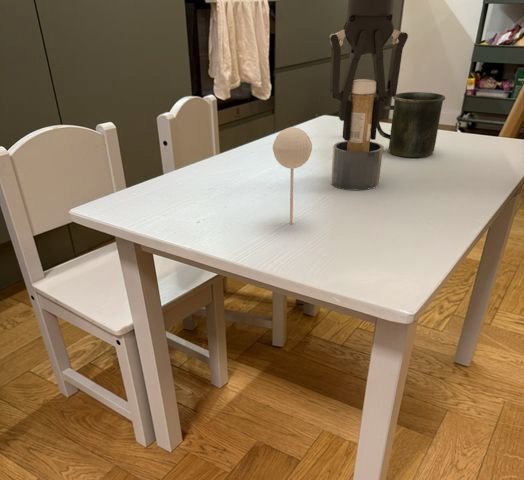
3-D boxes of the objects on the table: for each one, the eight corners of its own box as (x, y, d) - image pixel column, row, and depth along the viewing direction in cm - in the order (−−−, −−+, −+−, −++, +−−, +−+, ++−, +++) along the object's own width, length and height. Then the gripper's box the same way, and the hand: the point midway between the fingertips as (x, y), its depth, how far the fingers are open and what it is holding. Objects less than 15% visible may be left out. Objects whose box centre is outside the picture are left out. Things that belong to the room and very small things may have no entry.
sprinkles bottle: (373, 158, 97) (382, 80, 89) (355, 162, 95) (362, 83, 87) (358, 153, 100) (365, 77, 92) (340, 157, 98) (345, 80, 90)
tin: (372, 174, 104) (376, 139, 100) (384, 189, 97) (388, 151, 93) (327, 176, 104) (329, 141, 100) (335, 191, 96) (338, 153, 92)
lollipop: (287, 233, 80) (288, 134, 71) (265, 222, 84) (264, 127, 75) (316, 224, 83) (321, 128, 74) (294, 214, 87) (296, 121, 78)
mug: (436, 159, 112) (447, 101, 105) (371, 157, 115) (377, 99, 108) (434, 147, 121) (444, 92, 114) (373, 145, 124) (378, 91, 116)
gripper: (417, -14, 85) (398, 132, 99) (316, -12, 84) (310, 135, 98) (432, -14, 79) (409, 141, 93) (323, -12, 78) (316, 144, 92)
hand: (358, 138), depth 95 cm, fingers closed on sprinkles bottle, 4 cm apart
